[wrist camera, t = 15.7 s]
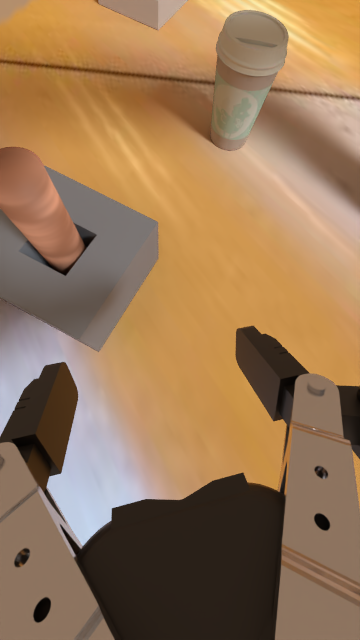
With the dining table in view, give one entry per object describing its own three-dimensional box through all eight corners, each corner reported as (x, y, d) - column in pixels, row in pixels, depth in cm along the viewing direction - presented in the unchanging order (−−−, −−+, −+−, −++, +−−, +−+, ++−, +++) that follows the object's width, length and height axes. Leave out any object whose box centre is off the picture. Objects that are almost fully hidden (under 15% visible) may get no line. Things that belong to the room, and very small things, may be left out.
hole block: (67, 211, 32) (42, 164, 25) (158, 258, 31) (157, 222, 24) (-4, 295, 28) (-56, 266, 21) (98, 351, 27) (78, 339, 20)
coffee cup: (191, 137, 38) (204, 27, 26) (221, 110, 40) (246, -2, 28) (234, 166, 37) (269, 64, 25) (263, 136, 39) (306, 31, 28)
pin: (75, 252, 29) (4, 138, 16) (103, 267, 29) (56, 163, 16) (55, 278, 28) (-39, 178, 15) (85, 293, 28) (17, 206, 14)
